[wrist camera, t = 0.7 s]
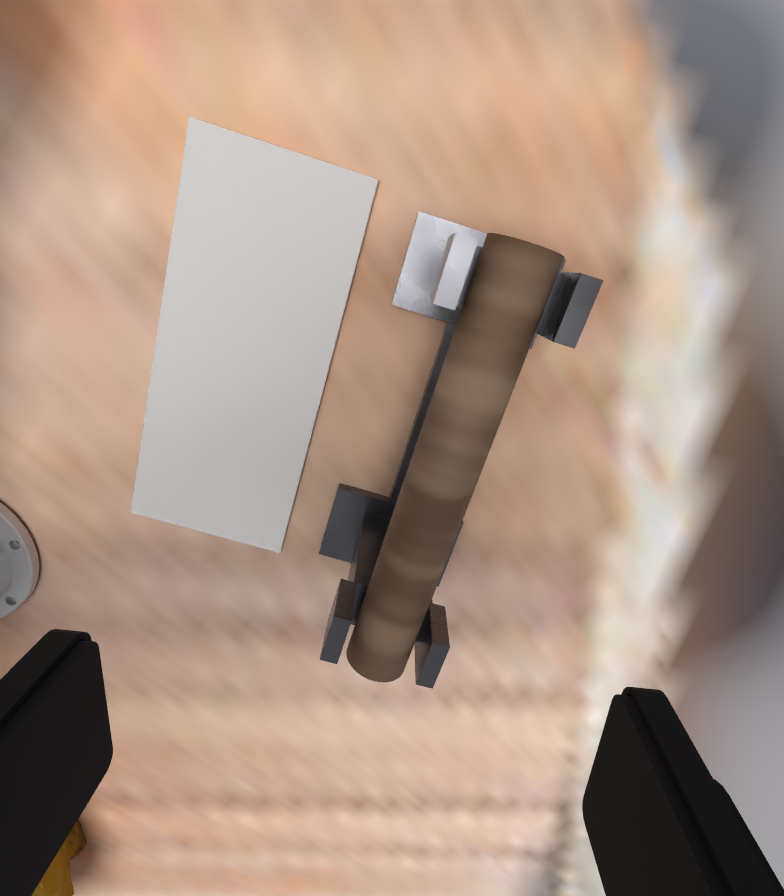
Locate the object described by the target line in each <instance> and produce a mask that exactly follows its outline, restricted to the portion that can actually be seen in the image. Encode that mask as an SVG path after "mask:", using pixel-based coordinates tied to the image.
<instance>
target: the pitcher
mask: <svg viewBox="0 0 784 896" xmlns="http://www.w3.org/2000/svg"><path fill="white" fill-rule="evenodd" d="M82 834H83V833H82V828H81V826H80V824H79V823H78V820H77V822H76V823H75V825H74V827H73V828H72V830H71V831H70V833H69V835H68V836H67V838H66V840H65V841H64V843H63V845H62V846H61V848H60V850H59V851H58V853H57V854H56V856H55V858H54V859H53V861H52V863H51V864H50V866H49V868H48V869H47V871H46V873H45V874H44V876H43V878H42V879H41V881H40V882H39V884H38V886H37V887H36V889H35V891H34V892H33V894H32V896H72V895H73V894H74V891H73V885H72V882H71V874H70V859H72V858H74V857H75V856H76V855H79V853H80V851H82V850H83V847H84V845H85V842H86V841H85V836H84V835H82Z"/></svg>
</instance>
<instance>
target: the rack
mask: <svg viewBox="0 0 784 896" xmlns="http://www.w3.org/2000/svg"><path fill="white" fill-rule="evenodd" d="M486 235H487V233H484V232H481V231H478V230H475V229H472V228H469V227H466V226H463V225H460V224H457V223H454V222H451V221H448V220H445V219H441V218H438V217H435V216H432V215H429V214H426V213H423V212H420V211H419V213H418V217H417V220H416V223H415V227H414V230H413V234H412V237H411V241H410V244H409V247H408V251H407V254H406V258H405V261H404V264H403V268H402V271H401V275H400V278H399V282H398V285H397V288H396V292H395V295H394V299H393V302H392V305H394V306H397V307H400V308H404V309H407V310H410V311H413V312H416V313H419V314H423V315H426V316H429V317H432V318H435V319H438V320H442V321H445V322H447V324H446V327H445V330H444V333H443V336H442V339H441V342H440V345H439V348H438V351H437V354H436V357H435V360H434V363H433V366H432V369H431V372H430V375H429V378H428V381H427V384H426V387H425V390H424V393H423V396H422V399H421V402H420V405H419V408H418V412H417V415H416V418H415V421H414V424H413V427H412V430H411V433H410V436H409V439H408V442H407V445H406V448H405V451H404V454H403V457H402V460H401V463H400V466H399V469H398V472H397V475H396V478H395V481H394V484H393V487H392V490H391V493H390V496H389V498H388V497H385V496H381V495H378V494H374V493H371V492H367V491H364V490H360V489H357V488H353V487H350V486H346V485H343V484H339V487H338V490H337V493H336V497H335V500H334V504H333V507H332V511H331V514H330V517H329V521H328V524H327V528H326V531H325V534H324V538H323V541H322V545H321V548H320V552H319V554H321V555H325V556H328V557H332V558H336V559H339V560H343V561H347V562H350V563H351V567H350V573H349V578H348V580H344V579H341V580H340V583H339V587H338V590H337V593H336V596H335V599H334V603H333V606H332V609H331V612H330V615H329V618H328V623H327V628H326V633H325V637H324V642H323V647H322V651H321V656H320V660H323V661H327V662H331V663H335V664H337V663H338V660H339V657H340V654H341V651H342V648H343V645H344V642H345V639H346V636H347V633H348V630H349V627H350V624H352V625H355V624H356V621H357V618H358V615H359V612H360V609H361V606H362V603H363V600H364V597H365V594H366V591H367V588H368V585H369V582H370V579H371V577H372V574H373V571H374V568H375V565H376V562H377V559H378V556H379V553H380V550H381V547H382V544H383V541H384V538H385V535H386V532H387V529H388V526H389V523H390V520H391V517H392V514H393V511H394V508H395V505H396V502H397V499H398V496H399V493H400V490H401V488H402V485H403V482H404V479H405V476H406V473H407V470H408V467H409V464H410V461H411V458H412V455H413V452H414V449H415V446H416V443H417V440H418V437H419V434H420V431H421V428H422V425H423V422H424V419H425V416H426V413H427V410H428V407H429V404H430V402H431V399H432V396H433V393H434V390H435V387H436V384H437V381H438V378H439V375H440V372H441V369H442V366H443V363H444V360H445V357H446V354H447V351H448V348H449V345H450V342H451V339H452V336H453V333H454V330H455V327H456V324H457V321H458V318H459V315H460V313H461V310H462V307H463V304H464V301H465V298H466V295H467V292H468V289H469V286H470V283H471V280H472V277H473V274H474V271H475V268H476V265H477V262H478V259H479V256H480V253H481V250H482V247H483V244H484V241H485V238H486ZM565 261H566V260H565V259H564V260H563V263H562V265H561V268H560V270H559V273H558V276H557V278H556V281H555V283H554V286H553V288H552V291H551V294H550V296H549V299H548V301H547V304H546V306H545V309H544V312H543V314H542V317H541V319H540V322H539V324H538V327H537V330H536V332H535V335H534V337H533V340H532V342H531V345H530V348H532V346H533V343H534V340H535V338H536V335H537V334H539V335H541V336H543V337H545V338H547V339H549V340H551V341H553V342H556V343H559V344H562V345H565V346H568V347H572V348H575V347H576V344H577V342H578V340H579V337H580V335H581V333H582V330H583V328H584V325H585V323H586V321H587V318H588V316H589V313H590V311H591V309H592V306H593V304H594V301H595V299H596V297H597V294H598V292H599V289H600V287H601V285H602V282H603V280H600V279H597V278H594V277H591V276H588V275H585V274H582V273H566V272H561V271H562V269H563V266H564V264H565ZM462 525H463V520H462V522H461V525H460V528H459V530H458V533H457V535H456V538H455V540H454V543H453V546H452V548H451V551H450V553H449V556H448V558H447V561H446V564H445V566H444V569H443V571H442V574H441V576H440V579H439V582H438V584H437V586H439V584H440V581H441V579H442V576H443V574H444V571H445V568H446V566H447V563H448V561H449V558H450V556H451V553H452V550H453V548H454V545H455V543H456V540H457V538H458V535H459V533H460V530H461V527H462ZM449 648H450V645H449V636H448V628H447V620H446V612H445V607H444V606H440V605H437V604H433V603H432V600H431V602H430V605H429V607H428V610H427V612H426V615H425V618H424V620H423V623H422V625H421V628H420V630H419V633H418V636H417V638H416V641H415V676H416V684H417V685H420V686H424V687H428V688H432V689H433V686H434V684H435V682H436V679H437V677H438V674H439V672H440V670H441V667H442V665H443V662H444V660H445V658H446V655H447V653H448V651H449Z"/></svg>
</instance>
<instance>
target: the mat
mask: <svg viewBox="0 0 784 896" xmlns="http://www.w3.org/2000/svg"><path fill="white" fill-rule="evenodd" d="M378 182H379V180H378V179H375V178H372V177H369V176H366V175H363V174H360V173H357V172H354V171H351V170H348V169H345V168H342V167H339V166H336V165H333V164H330V163H327V162H324V161H321V160H318V159H315V158H312V157H309V156H306V155H303V154H300V153H297V152H294V151H291V150H288V149H285V148H282V147H279V146H276V145H273V144H270V143H267V142H264V141H261V140H258V139H255V138H252V137H249V136H246V135H243V134H240V133H237V132H234V131H231V130H228V129H225V128H222V127H219V126H216V125H213V124H210V123H207V122H204V121H201V120H198V119H195V118H192V117H189V123H188V129H187V136H186V143H185V150H184V156H183V163H182V170H181V176H180V183H179V190H178V197H177V203H176V210H175V217H174V223H173V230H172V237H171V244H170V250H169V257H168V264H167V270H166V277H165V284H164V291H163V297H162V304H161V311H160V317H159V324H158V331H157V338H156V344H155V351H154V358H153V364H152V371H151V378H150V385H149V391H148V398H147V405H146V411H145V418H144V425H143V432H142V438H141V445H140V452H139V458H138V465H137V472H136V479H135V485H134V492H133V499H132V505H131V512H130V513H134V514H138V515H141V516H145V517H149V518H152V519H156V520H160V521H163V522H167V523H171V524H174V525H178V526H182V527H185V528H189V529H193V530H196V531H200V532H204V533H207V534H211V535H215V536H219V537H222V538H226V539H230V540H233V541H237V542H241V543H244V544H248V545H252V546H255V547H259V548H263V549H266V550H270V551H274V552H277V553H280V552H281V549H282V545H283V542H284V538H285V534H286V530H287V526H288V523H289V519H290V515H291V511H292V508H293V504H294V500H295V496H296V492H297V489H298V485H299V481H300V477H301V473H302V470H303V466H304V462H305V458H306V455H307V451H308V447H309V443H310V439H311V436H312V432H313V428H314V424H315V420H316V417H317V413H318V409H319V405H320V402H321V398H322V394H323V390H324V386H325V383H326V379H327V375H328V371H329V367H330V364H331V360H332V356H333V352H334V349H335V345H336V341H337V337H338V333H339V330H340V326H341V322H342V318H343V314H344V311H345V307H346V303H347V299H348V296H349V292H350V288H351V284H352V280H353V277H354V273H355V269H356V265H357V261H358V258H359V254H360V250H361V246H362V243H363V239H364V235H365V231H366V227H367V224H368V220H369V216H370V212H371V208H372V205H373V201H374V197H375V193H376V190H377V186H378Z"/></svg>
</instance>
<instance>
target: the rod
mask: <svg viewBox="0 0 784 896" xmlns="http://www.w3.org/2000/svg"><path fill="white" fill-rule="evenodd" d="M563 260H564V256H563V255H561V254H559V253H557V252H555V251H552V250H550V249H547V248H544V247H542V246H539V245H536V244H533V243H530V242H526V241H523V240H520V239H516V238H512V237H509V236H504V235H500V234H494V233H487V235H486V238H485V241H484V244H483V247H482V250H481V253H480V256H479V259H478V262H477V265H476V268H475V271H474V274H473V277H472V280H471V283H470V286H469V289H468V292H467V295H466V298H465V301H464V304H463V307H462V310H461V313H460V315H459V318H458V321H457V324H456V327H455V330H454V333H453V336H452V339H451V342H450V345H449V348H448V351H447V354H446V357H445V360H444V363H443V366H442V369H441V372H440V375H439V378H438V381H437V384H436V387H435V390H434V393H433V396H432V399H431V402H430V404H429V407H428V410H427V413H426V416H425V419H424V422H423V425H422V428H421V431H420V434H419V437H418V440H417V443H416V446H415V449H414V452H413V455H412V458H411V461H410V464H409V467H408V470H407V473H406V476H405V479H404V482H403V485H402V488H401V490H400V493H399V496H398V499H397V502H396V505H395V508H394V511H393V514H392V517H391V520H390V523H389V526H388V529H387V532H386V535H385V538H384V541H383V544H382V547H381V550H380V553H379V556H378V559H377V562H376V565H375V568H374V571H373V574H372V577H371V579H370V582H369V585H368V588H367V591H366V594H365V597H364V600H363V603H362V606H361V609H360V612H359V615H358V618H357V621H356V624H355V627H354V630H353V633H352V636H351V639H350V642H349V645H348V648H347V659H348V661H349V663H350V665H351V666H352V668H353V669H354V670H355V671H356V672H357V673H359V674H360V675H362V676H363V677H365V678H367V679H370V680H373V681H377V682H390V681H394V680H396V679H398V678H399V677H400V676H401V675H402V673H403V671H404V669H405V666H406V664H407V661H408V659H409V656H410V654H411V651H412V648H413V646H414V643H415V641H416V638H417V636H418V633H419V630H420V628H421V625H422V623H423V620H424V618H425V615H426V612H427V610H428V607H429V605H430V602H431V600H432V597H433V594H434V592H435V589H436V587H437V584H438V582H439V579H440V576H441V574H442V571H443V569H444V566H445V564H446V561H447V558H448V556H449V553H450V551H451V548H452V546H453V543H454V540H455V538H456V535H457V533H458V530H459V528H460V525H461V522H462V520H463V517H464V515H465V512H466V510H467V507H468V504H469V502H470V499H471V497H472V494H473V492H474V489H475V486H476V484H477V481H478V479H479V476H480V474H481V471H482V468H483V466H484V463H485V461H486V458H487V456H488V453H489V450H490V448H491V445H492V443H493V440H494V438H495V435H496V432H497V430H498V427H499V425H500V422H501V420H502V417H503V414H504V412H505V409H506V407H507V404H508V402H509V399H510V396H511V394H512V391H513V389H514V386H515V384H516V381H517V378H518V376H519V373H520V371H521V368H522V366H523V363H524V360H525V358H526V355H527V353H528V350H529V348H530V345H531V342H532V340H533V337H534V335H535V332H536V330H537V327H538V324H539V322H540V319H541V317H542V314H543V312H544V309H545V306H546V304H547V301H548V299H549V296H550V294H551V291H552V288H553V286H554V283H555V281H556V278H557V276H558V273H559V270H560V268H561V265H562V263H563Z"/></svg>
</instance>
